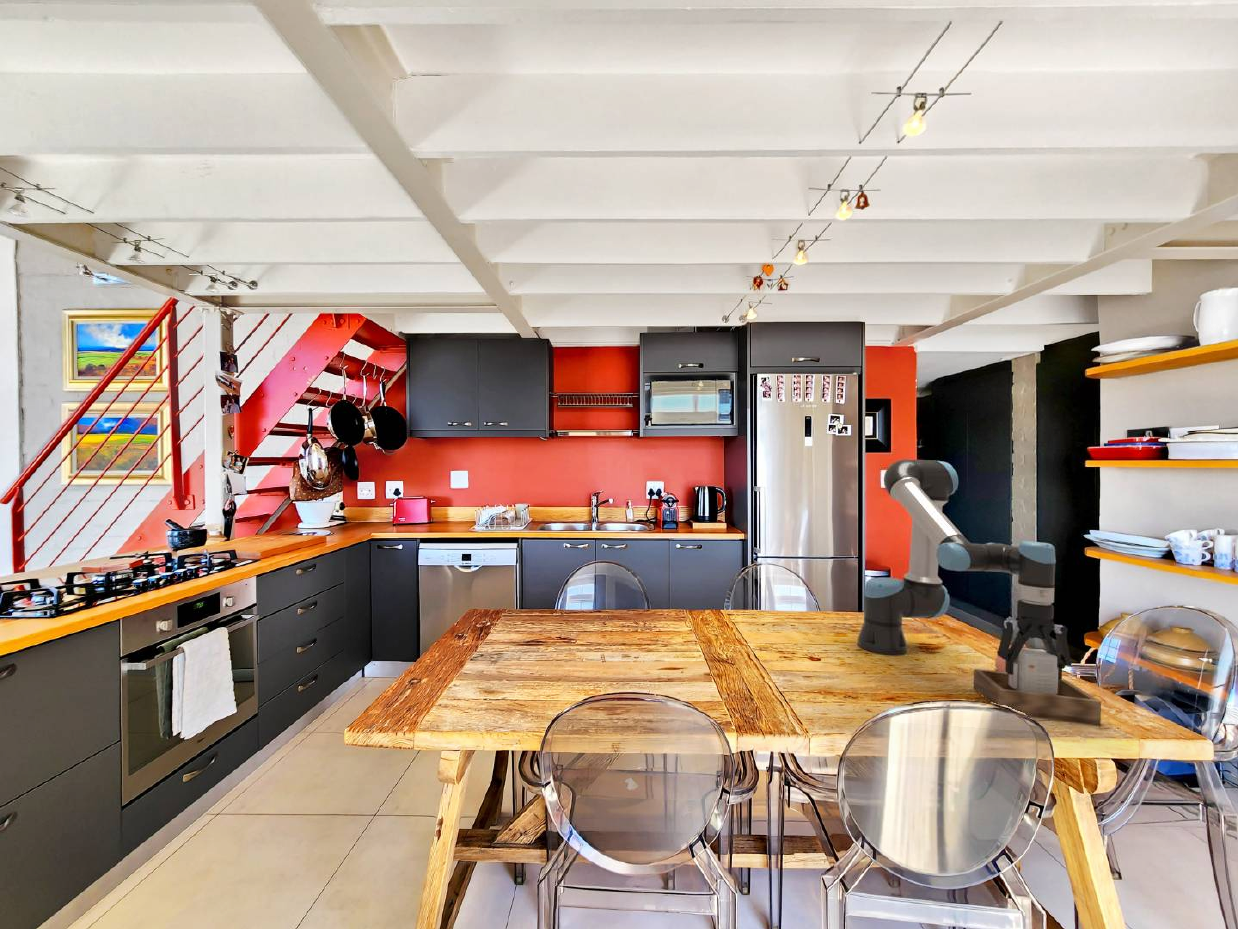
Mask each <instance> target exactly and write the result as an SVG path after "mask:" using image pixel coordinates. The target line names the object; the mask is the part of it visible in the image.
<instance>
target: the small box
mask: <svg viewBox="0 0 1238 929" xmlns="http://www.w3.org/2000/svg"><path fill="white" fill-rule="evenodd" d="M1015 662H1016V663H1017V664H1018V673H1017V689H1015V690H1017V691H1024V692H1033V693H1041V694H1050V695H1056V692H1057V656H1055V655H1052V654H1050V653H1048V652H1047V650H1044V649H1041V648H1040V649H1038V648H1029V649H1024V648H1022V649H1021V651H1020V652H1019V654H1018V656H1017V658H1016V659H1015Z"/></svg>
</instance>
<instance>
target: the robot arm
mask: <svg viewBox="0 0 1238 929" xmlns="http://www.w3.org/2000/svg"><path fill="white" fill-rule="evenodd" d="M883 484H884V485H883V486H884V488H885V490H886V491H887V494H888V495H889V496H890V497H891V498H892V499H893V501H896V502H899V503H900V505H902V507H903V508H904V509H905V510H906V512H907V513H908V514H909V515H910V517H911V518H912V522H911V536H910V553H909V562H908V563H909V564H908V565H909V567H908V572H906V573H905V574H903V580H901V579H899V578H895V577H875V578H870V579H867V581H866V582H865V585H864V586H865V587H864V592H863V593H864V606H863V609H864V610H863V613H864V614H863V623H862V626H861V629H860V632H859V634H858V635H857V646H858V647H860V648H861V649H863V650H865V651H868V652H872V653H876V654H881V655H889V656H890V655H891V656H901V655H905V654H907V653H908V644H907V640H906V637H905V634H904V630H903V625H902V624H903V619H907V618H908V619H925V620H927V619H937V618H940V617H942V616H943V615H945V614H946V612H948V609H949V606H950V603H951V602H950V601H951V600H950V594H949V593H948V590H947V588H946V587H945V586H944V585H943V580H942V579H941V578H940V577H939V575H938V574H939V566H940V567H941V568H943V569H945V570H946V571H947V570H948V571H955V572H992V573H993V572H998V573H999V572H1001V573H1008V574H1012V575H1017V577H1018V578H1017V594H1016V595H1017V598H1018V600H1017V602H1016V618H1015V620H1008V619H1003V620H1002V625H1003V630H1002V635H1001V637H1000V641H999V645H998V649H997V654H996V655H997V656H999V657H1001V658H1002V659H1005V661H1006V665H1005V666H1006V667H1005V671H1006V672H1007V673H1008V674H1009V685H1010V686H1011V687H1012V688H1014V689H1017V673H1018V664H1017V663H1016V662H1015V659H1016V658H1017V656H1018V654H1019V652H1020V651H1021V649H1022V648H1023V646H1024V645H1026V643H1027V642H1028V641H1029V640H1030V639H1040V640H1041V642H1042V643H1043V646H1044V647H1045V651H1046V652H1048V653H1050V654H1052V655H1055V656H1057V692H1056V693H1057V694H1058V680H1061V679H1062V678H1063V669H1066V667H1067V666H1068V667H1070V666H1072V665H1073V664H1072V659H1071V654H1070V649H1069V648H1070V647H1069V645H1068V644H1069V643H1068V639H1067V635H1068V628H1067V627H1066V626H1063V625H1062V624H1055V623H1054V616H1055V615H1054V614H1055V613H1054V612H1055V607H1054V605H1053V603H1055V578H1056V577H1055V576H1056V575H1055V574H1056V563H1057V560H1056V548H1055V546H1054V545H1053V544H1051V543H1048V542H1039V541H1031V540H1030V541H1029V540H1023V541H1020V542H1019V544H1018V546H1013V545H1009V544H1004V543H1001V542H987V543H984V544H983V543H972V542H970V541H969V540H968V539H967V538H966V537H965V536H964V534H962V533H961V532H960V530H959V529H958V528H957V527H956V526H955V525H954V524H953V523H952V522H951V519H949V518H948V517H947V516H946V515H945V514H944V513H943V506H944V505H945V504H947V503H948V502H949V497H950V496H952V495H953V494H955V493H956V491H957V490H958V487H959V476H958V474H957V471H956V469H955V468H954V467H953V465H951V464H950V463H949V462H946V461H940V460H935V459H934V460H929V459H926V460H925V459H909V458H907V459H906V458H905V459H900V460H896V461H895V462H893V463H891V464H890V465H889V467H888V468H887V469H886V470H885V473H884V476H883ZM1016 627H1017V629H1018V631H1017V633H1016V637H1015V639H1014V640H1013V642H1012V638H1013V635H1014V630H1015V629H1016ZM1053 631H1054V633H1055V639H1056V644H1057V649H1056V647H1055V645H1054V643H1053V639H1052V637H1051V633H1052V632H1053ZM1011 642H1012V644H1011ZM1010 646H1011V647H1010ZM1009 647H1010V648H1009ZM1057 650H1058V651H1057Z"/></svg>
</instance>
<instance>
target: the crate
mask: <svg viewBox="0 0 1238 929" xmlns="http://www.w3.org/2000/svg"><path fill="white" fill-rule="evenodd" d="M973 690H974V691H975V692H977V693H978V694H979V693H980V694H982V695H983V696H984V698H986V699H985V700H986V701H987V702H988V701H989V702H993V703H996V704H999V705H1006V706H1008V707H1011V708H1012V709H1015V710H1017V711H1020V712H1023V713H1025V714H1026V715H1028V716H1027V717H1033V718H1034V717H1035V718H1041V719H1042V718H1043V719H1050V720H1057V721H1067V722H1073V723H1082V724H1089V725H1097V726H1101V723H1102V722H1101V720H1102V701H1100V700H1098V699H1097V698H1095V697H1094V696H1092V695H1091V694H1089V693H1087V692H1086V691H1084V690H1082V689H1081V688H1079V687H1078V686H1076V685H1074V684H1073V683H1072V682H1070V681H1068V680H1067V679H1065V678H1063V677H1062V679H1061V680H1058V694H1057V693H1056V695H1050V694H1041V693H1033V692H1024V691H1017V690H1015V689H1014V688H1012V687H1011V686H1010V685H1009V674H1008V673H1007V672H999V671H998V670H997V671H996V670H988V669H978V668H973ZM980 694H979V695H980ZM989 702H988V703H989Z"/></svg>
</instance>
